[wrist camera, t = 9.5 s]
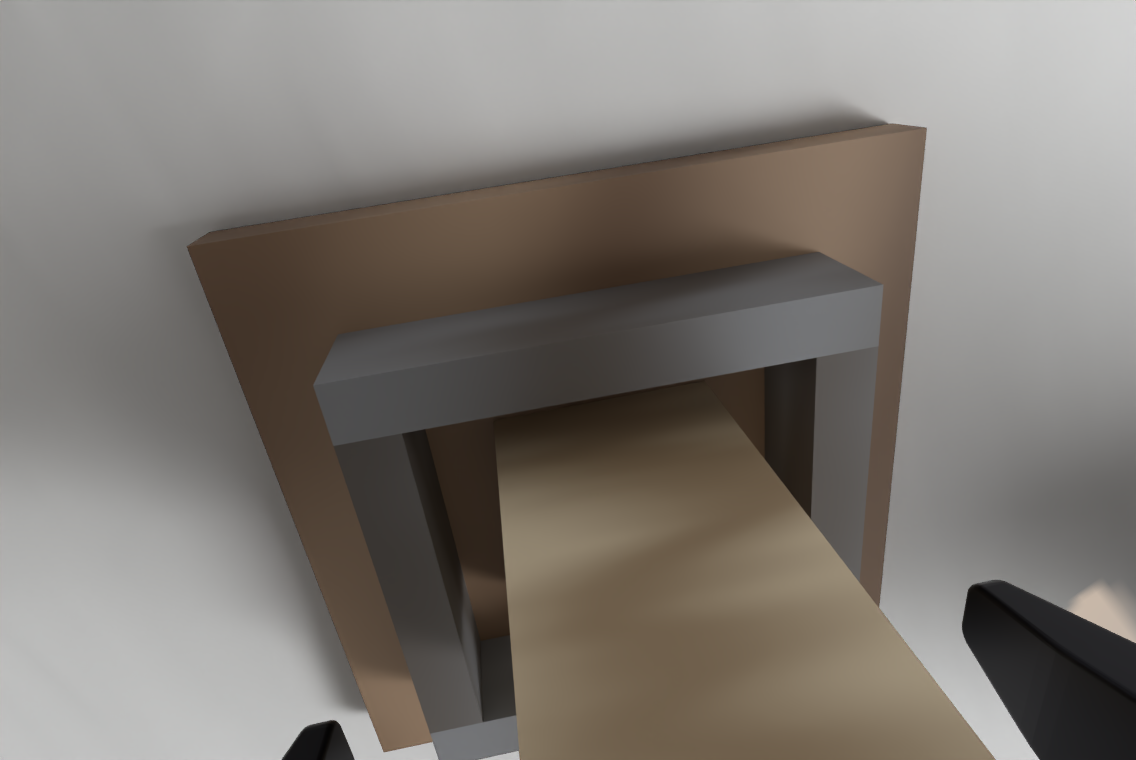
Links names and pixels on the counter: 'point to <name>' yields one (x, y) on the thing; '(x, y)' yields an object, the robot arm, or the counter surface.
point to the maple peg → (692, 601)
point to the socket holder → (559, 374)
